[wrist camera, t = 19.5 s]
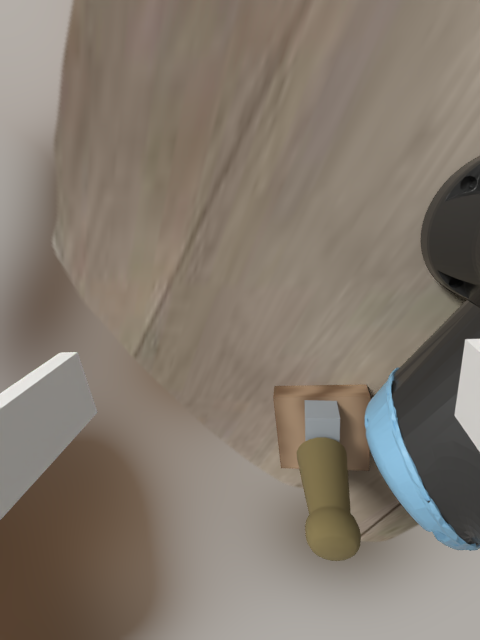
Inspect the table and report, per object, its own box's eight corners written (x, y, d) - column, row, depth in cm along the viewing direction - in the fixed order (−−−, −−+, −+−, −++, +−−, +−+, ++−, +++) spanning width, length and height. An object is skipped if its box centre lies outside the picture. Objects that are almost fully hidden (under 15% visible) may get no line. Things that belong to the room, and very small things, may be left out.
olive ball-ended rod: (311, 477, 42) (321, 575, 32) (287, 447, 40) (290, 542, 30) (355, 462, 40) (380, 562, 30) (332, 430, 38) (351, 525, 28)
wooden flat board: (365, 381, 43) (370, 396, 40) (364, 451, 47) (369, 470, 44) (275, 383, 45) (273, 397, 42) (282, 450, 50) (281, 468, 46)
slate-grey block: (336, 400, 41) (340, 418, 38) (335, 467, 45) (338, 488, 42) (304, 400, 42) (305, 417, 38) (305, 465, 46) (306, 486, 42)
